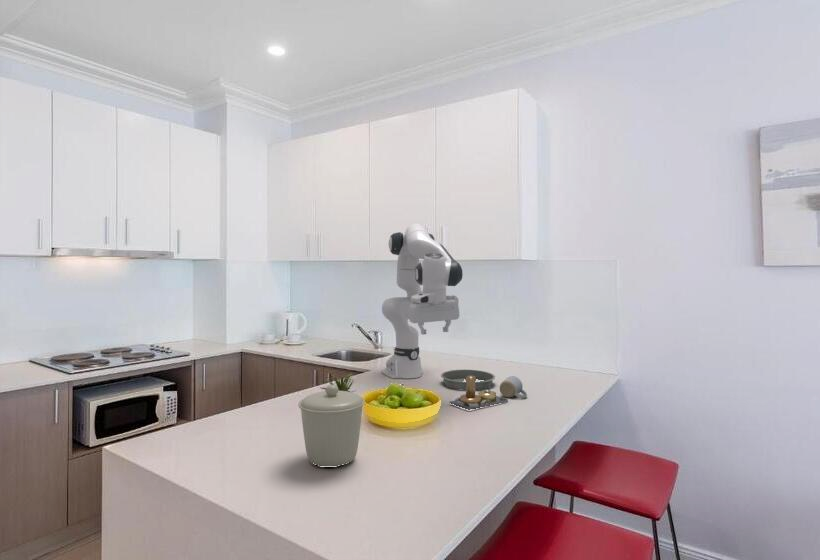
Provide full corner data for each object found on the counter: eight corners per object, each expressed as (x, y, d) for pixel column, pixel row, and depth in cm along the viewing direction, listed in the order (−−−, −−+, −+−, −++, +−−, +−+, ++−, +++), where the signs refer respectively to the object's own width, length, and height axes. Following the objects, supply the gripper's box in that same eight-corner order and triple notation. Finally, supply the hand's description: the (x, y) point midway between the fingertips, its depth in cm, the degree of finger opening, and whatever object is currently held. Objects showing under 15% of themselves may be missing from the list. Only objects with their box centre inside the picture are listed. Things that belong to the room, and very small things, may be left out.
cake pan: (438, 390, 203) (438, 380, 202) (444, 377, 227) (444, 368, 227) (495, 393, 198) (495, 382, 198) (495, 379, 222) (495, 370, 222)
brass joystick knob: (455, 401, 180) (456, 375, 180) (470, 398, 185) (471, 373, 185) (470, 406, 174) (470, 380, 174) (485, 403, 179) (485, 377, 179)
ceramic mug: (498, 396, 192) (498, 378, 191) (505, 392, 199) (505, 374, 198) (523, 401, 186) (523, 382, 186) (529, 396, 193) (530, 378, 193)
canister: (335, 443, 141) (334, 374, 140) (378, 458, 129) (378, 383, 129) (285, 462, 127) (284, 386, 126) (328, 481, 115) (328, 397, 115)
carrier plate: (449, 404, 181) (449, 392, 181) (487, 396, 193) (487, 385, 193) (469, 412, 171) (469, 399, 171) (508, 402, 184) (508, 391, 183)
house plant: (333, 409, 174) (332, 366, 174) (367, 413, 170) (367, 369, 170) (314, 421, 161) (313, 374, 160) (350, 425, 156) (350, 377, 156)
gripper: (453, 294, 181) (454, 329, 182) (406, 297, 172) (407, 334, 174) (462, 295, 176) (462, 331, 177) (414, 299, 167) (414, 337, 168)
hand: (434, 332), depth 175 cm, fingers open, 8 cm apart
